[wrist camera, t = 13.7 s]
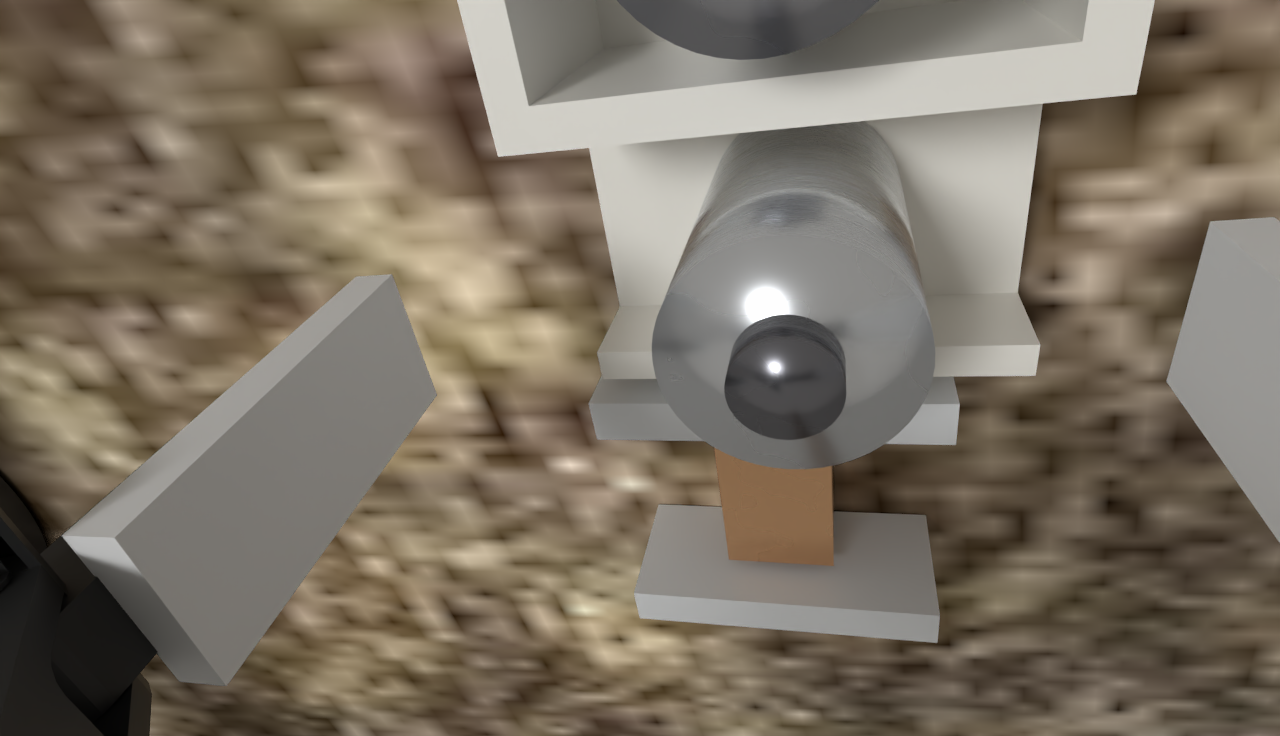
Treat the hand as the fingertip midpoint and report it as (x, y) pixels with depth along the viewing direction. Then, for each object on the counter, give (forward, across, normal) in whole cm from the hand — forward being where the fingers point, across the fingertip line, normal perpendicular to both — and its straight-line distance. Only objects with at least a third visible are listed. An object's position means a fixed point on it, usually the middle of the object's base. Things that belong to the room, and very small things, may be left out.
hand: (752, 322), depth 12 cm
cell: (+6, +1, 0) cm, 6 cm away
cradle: (+8, 0, -9) cm, 12 cm away
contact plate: (+7, 0, -9) cm, 11 cm away
